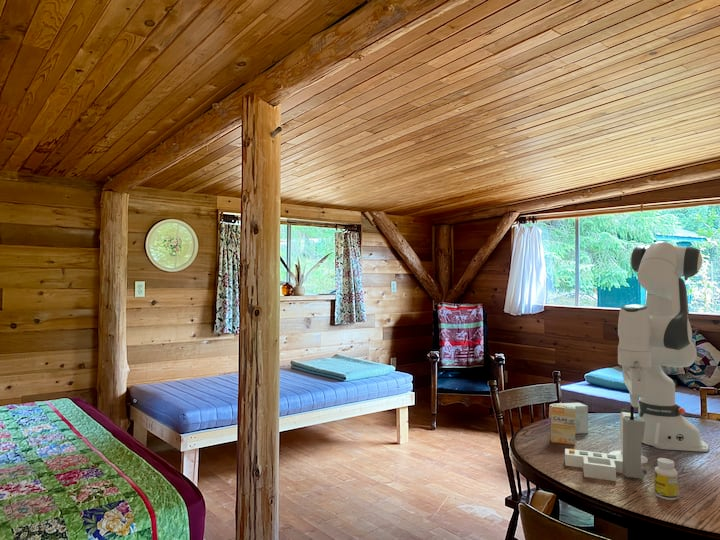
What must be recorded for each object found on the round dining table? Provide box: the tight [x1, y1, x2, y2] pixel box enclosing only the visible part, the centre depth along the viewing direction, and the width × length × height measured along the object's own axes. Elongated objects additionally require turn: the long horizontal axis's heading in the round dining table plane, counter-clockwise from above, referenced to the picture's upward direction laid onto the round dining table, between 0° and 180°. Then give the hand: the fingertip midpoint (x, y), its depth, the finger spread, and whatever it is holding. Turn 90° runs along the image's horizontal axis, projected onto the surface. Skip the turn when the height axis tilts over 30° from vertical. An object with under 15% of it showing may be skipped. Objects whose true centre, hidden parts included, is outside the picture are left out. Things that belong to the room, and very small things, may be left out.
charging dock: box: [564, 448, 647, 482], centre depth 157 cm, size 23×14×4 cm, turn 68°
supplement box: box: [550, 403, 576, 446], centre depth 184 cm, size 8×5×13 cm, turn 68°
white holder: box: [608, 408, 649, 465], centre depth 169 cm, size 12×11×15 cm
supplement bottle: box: [654, 457, 679, 501], centre depth 139 cm, size 5×5×10 cm
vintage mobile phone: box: [622, 398, 645, 479], centre depth 151 cm, size 4×5×25 cm
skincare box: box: [554, 402, 589, 435], centre depth 197 cm, size 10×6×10 cm, turn 98°
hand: (634, 405), depth 151 cm, fingers closed on vintage mobile phone
